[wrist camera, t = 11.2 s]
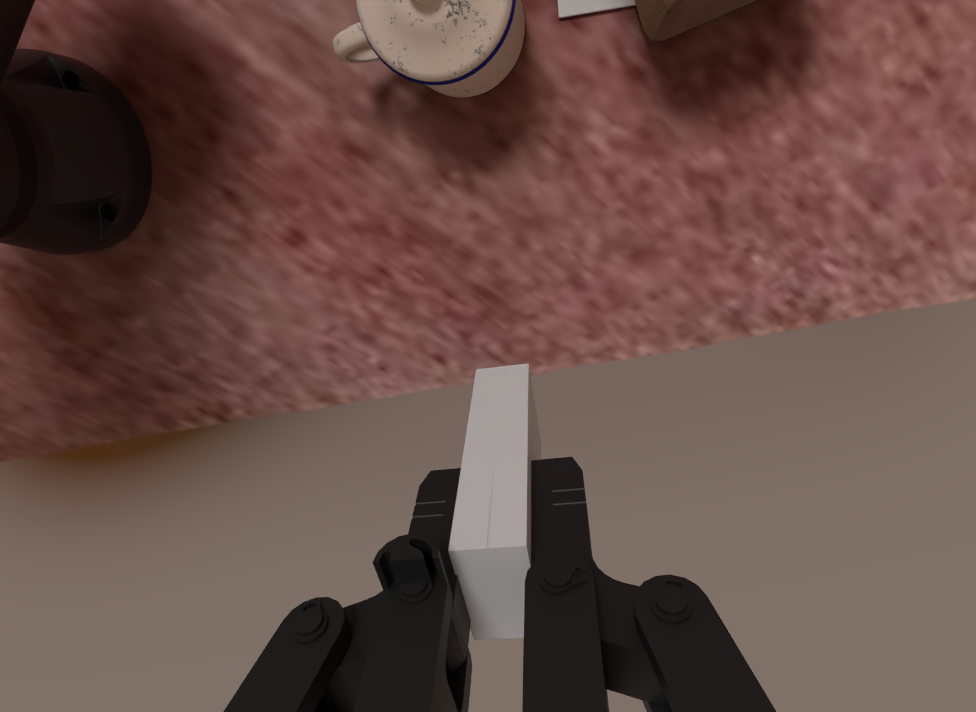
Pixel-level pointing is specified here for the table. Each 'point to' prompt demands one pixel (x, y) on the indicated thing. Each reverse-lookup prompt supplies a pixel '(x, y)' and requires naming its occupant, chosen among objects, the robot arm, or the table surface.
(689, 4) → the block
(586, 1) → the mat
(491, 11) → the teacup with lid
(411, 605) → the robot arm
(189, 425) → the table surface
